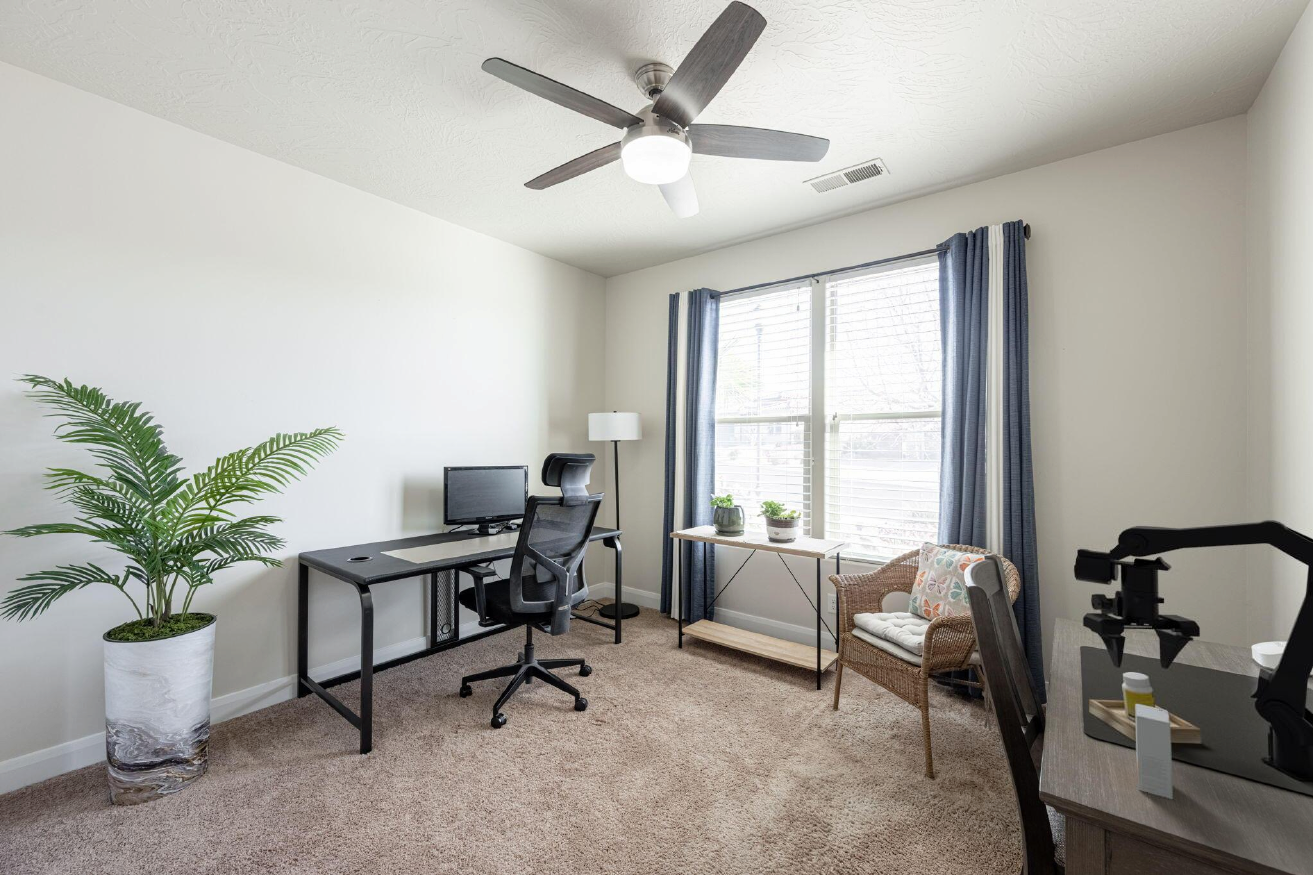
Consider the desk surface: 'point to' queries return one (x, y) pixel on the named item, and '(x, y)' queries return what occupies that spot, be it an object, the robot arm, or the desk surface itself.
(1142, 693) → the supplement bottle
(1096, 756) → the desk surface
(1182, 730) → the wooden tray
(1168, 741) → the skincare box
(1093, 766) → the desk surface
